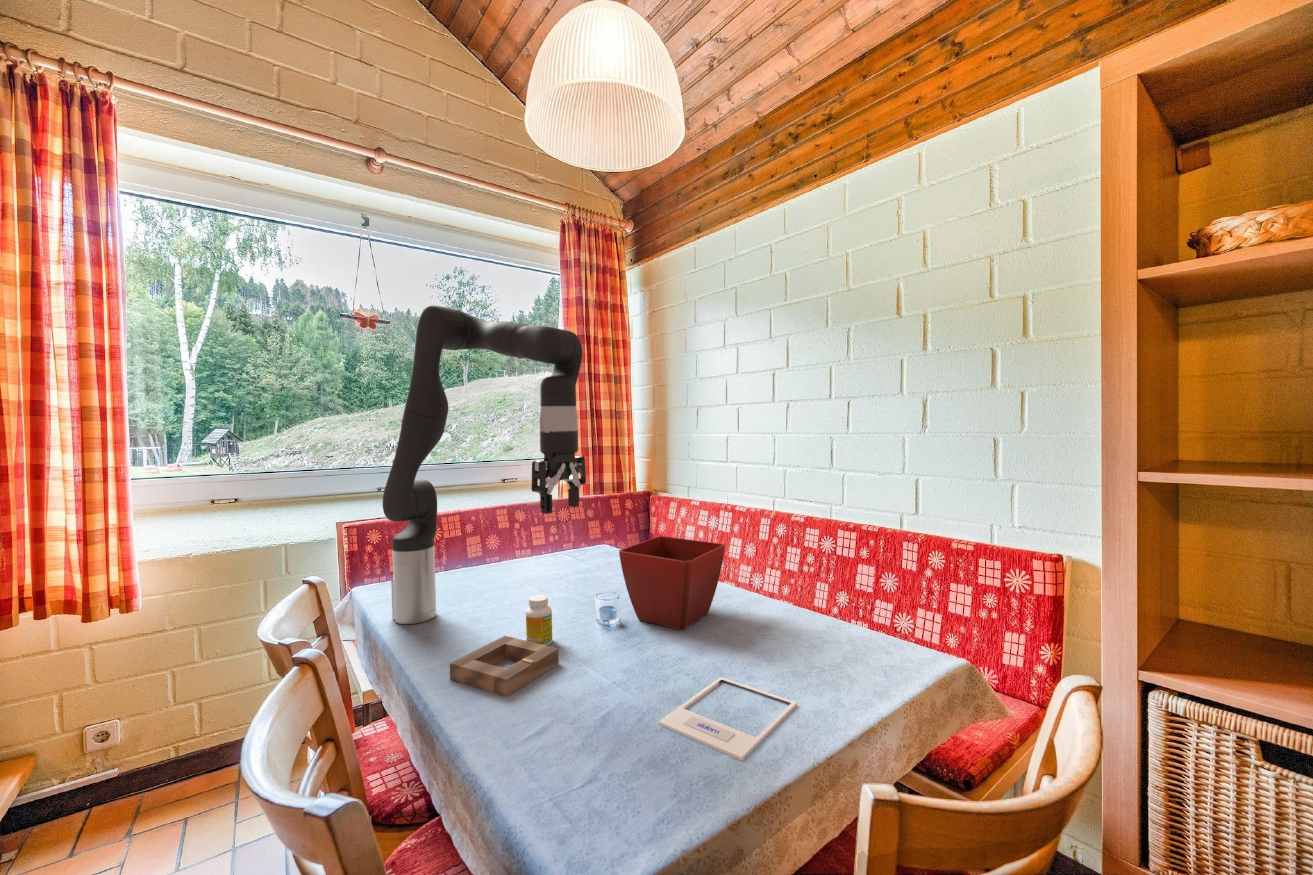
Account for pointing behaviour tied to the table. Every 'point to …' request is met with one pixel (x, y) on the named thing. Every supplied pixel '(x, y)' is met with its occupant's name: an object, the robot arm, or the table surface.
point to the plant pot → (672, 579)
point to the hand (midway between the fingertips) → (560, 509)
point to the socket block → (499, 680)
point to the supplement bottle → (539, 620)
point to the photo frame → (719, 726)
